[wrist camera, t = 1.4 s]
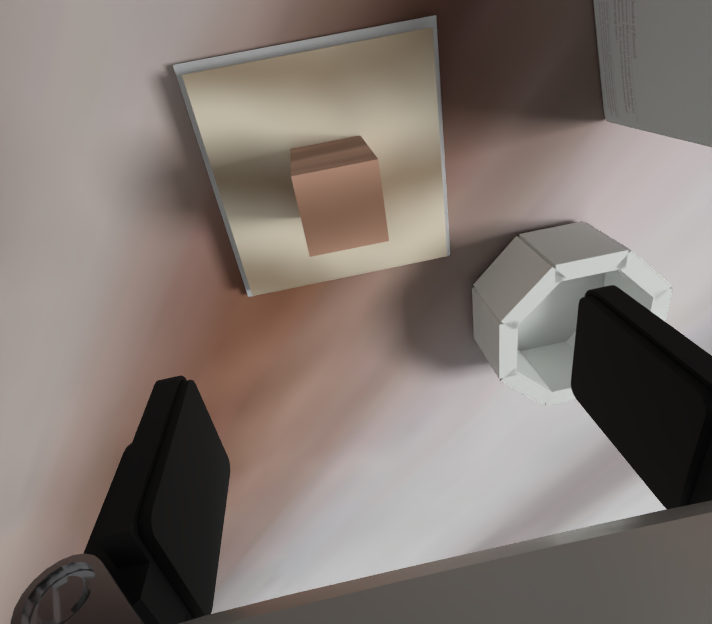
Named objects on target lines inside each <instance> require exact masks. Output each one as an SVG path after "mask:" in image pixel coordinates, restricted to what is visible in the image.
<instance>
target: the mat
mask: <svg viewBox="0 0 712 624" xmlns="http://www.w3.org/2000/svg"><path fill="white" fill-rule="evenodd" d="M432 27H433V40H434V56H435V72H436V88H437V103H438V119H439V135H440V151H441V167H442V183H443V199H444V215H445V230H446V246H447V256H450V241H449V224H448V207H447V190H446V173H445V156H444V139H443V122H442V105H441V88H440V71H439V54H438V37H437V20H436V15H434V16H428V17H423V18H418V19H413V20H407V21H402V22H397V23H391V24H386V25H381V26H376V27H370V28H365V29H360V30H355V31H349V32H344V33H339V34H333V35H328V36H323V37H318V38H312V39H307V40H302V41H296V42H291V43H286V44H281V45H275V46H270V47H265V48H260V49H254V50H249V51H244V52H238V53H233V54H228V55H223V56H217V57H212V58H207V59H201V60H196V61H191V62H186V63H180V64H175V65H173V68H174V71H175V74H176V77H177V80H178V83H179V86H180V89H181V92H182V95H183V98H184V101H185V104H186V108H187V111H188V114H189V117H190V120H191V123H192V126H193V129H194V132H195V135H196V138H197V141H198V144H199V147H200V150H201V154H202V157H203V160H204V163H205V166H206V169H207V172H208V175H209V178H210V181H211V184H212V187H213V190H214V193H215V196H216V200H217V203H218V206H219V209H220V212H221V215H222V218H223V221H224V224H225V227H226V230H227V233H228V236H229V239H230V242H231V245H232V249H233V252H234V255H235V258H236V261H237V264H238V267H239V270H240V273H241V276H242V279H243V282H244V285H245V288H246V291H247V295H248V297H250V296H252V293H251V290H250V286H249V283H248V280H247V277H246V274H245V271H244V268H243V265H242V261H241V258H240V255H239V252H238V249H237V246H236V243H235V240H234V236H233V233H232V230H231V227H230V224H229V221H228V218H227V215H226V211H225V208H224V205H223V202H222V199H221V196H220V193H219V190H218V186H217V183H216V180H215V177H214V174H213V171H212V168H211V165H210V161H209V158H208V155H207V152H206V149H205V146H204V143H203V140H202V137H201V133H200V130H199V127H198V124H197V121H196V118H195V115H194V112H193V108H192V105H191V102H190V99H189V96H188V93H187V90H186V87H185V83H184V80H183V77H182V75H184V74H188V73H193V72H198V71H203V70H209V69H214V68H219V67H224V66H230V65H235V64H240V63H245V62H251V61H256V60H261V59H267V58H272V57H277V56H282V55H288V54H293V53H298V52H303V51H309V50H314V49H319V48H324V47H330V46H335V45H340V44H345V43H351V42H356V41H361V40H366V39H372V38H377V37H382V36H388V35H393V34H398V33H403V32H409V31H414V30H419V29H424V28H432Z"/></svg>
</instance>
